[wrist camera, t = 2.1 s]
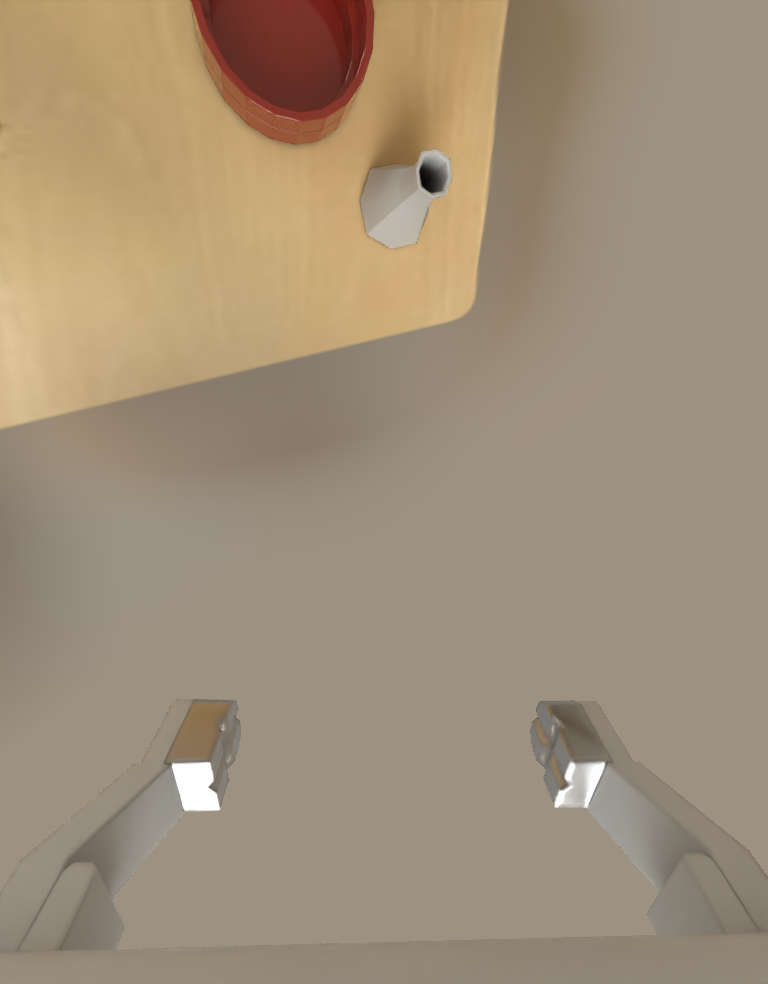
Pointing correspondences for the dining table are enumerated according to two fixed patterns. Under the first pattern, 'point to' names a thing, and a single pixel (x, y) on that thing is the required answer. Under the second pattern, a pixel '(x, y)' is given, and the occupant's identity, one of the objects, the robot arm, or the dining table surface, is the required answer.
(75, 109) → the dining table surface
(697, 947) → the robot arm
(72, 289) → the dining table surface
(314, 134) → the bowl
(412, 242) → the flask
